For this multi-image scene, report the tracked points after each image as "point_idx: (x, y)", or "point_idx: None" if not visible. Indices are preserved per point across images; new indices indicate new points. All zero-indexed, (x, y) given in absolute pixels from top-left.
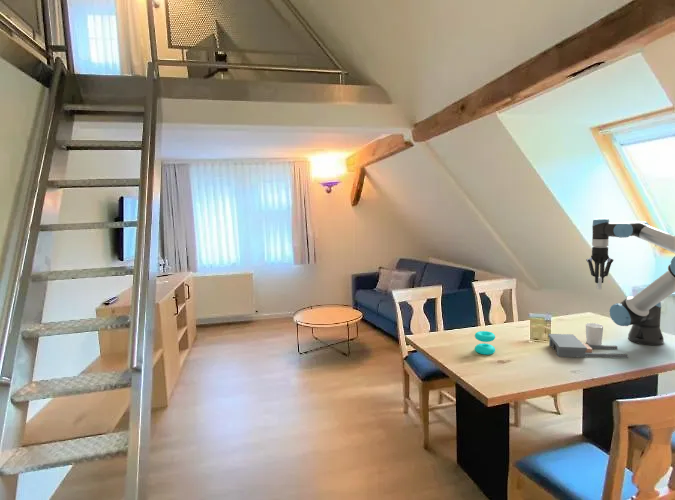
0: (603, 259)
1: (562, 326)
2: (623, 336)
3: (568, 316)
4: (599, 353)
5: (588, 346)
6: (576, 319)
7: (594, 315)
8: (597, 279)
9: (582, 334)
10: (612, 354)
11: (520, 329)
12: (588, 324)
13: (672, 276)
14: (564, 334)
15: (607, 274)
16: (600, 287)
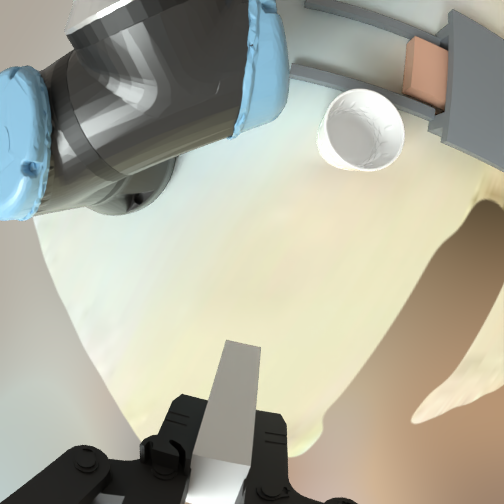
0: None
1: (336, 366)
2: (169, 212)
3: None
4: (394, 22)
5: (417, 58)
6: None
7: None
8: (261, 452)
9: (322, 260)
10: (356, 6)
11: (484, 338)
12: (375, 167)
13: None
14: (475, 148)
15: (62, 464)
16: (234, 354)
